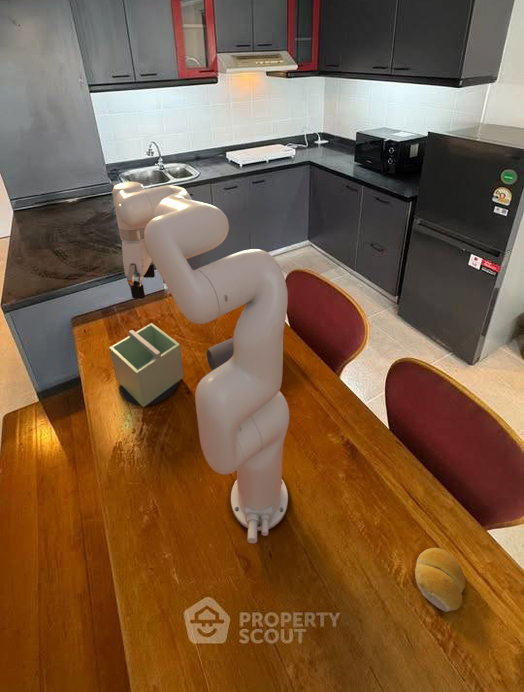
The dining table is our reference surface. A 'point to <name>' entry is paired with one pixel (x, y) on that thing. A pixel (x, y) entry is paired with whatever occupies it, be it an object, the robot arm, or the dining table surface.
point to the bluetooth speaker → (220, 353)
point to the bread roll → (440, 579)
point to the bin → (147, 363)
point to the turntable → (160, 398)
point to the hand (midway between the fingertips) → (144, 286)
